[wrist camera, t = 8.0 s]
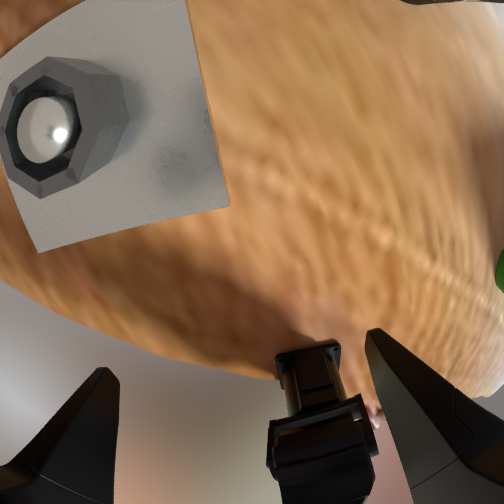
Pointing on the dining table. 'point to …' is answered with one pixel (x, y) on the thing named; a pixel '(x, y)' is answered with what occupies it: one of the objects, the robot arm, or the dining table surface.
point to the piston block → (137, 132)
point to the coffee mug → (430, 0)
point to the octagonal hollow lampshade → (90, 113)
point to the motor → (500, 273)
